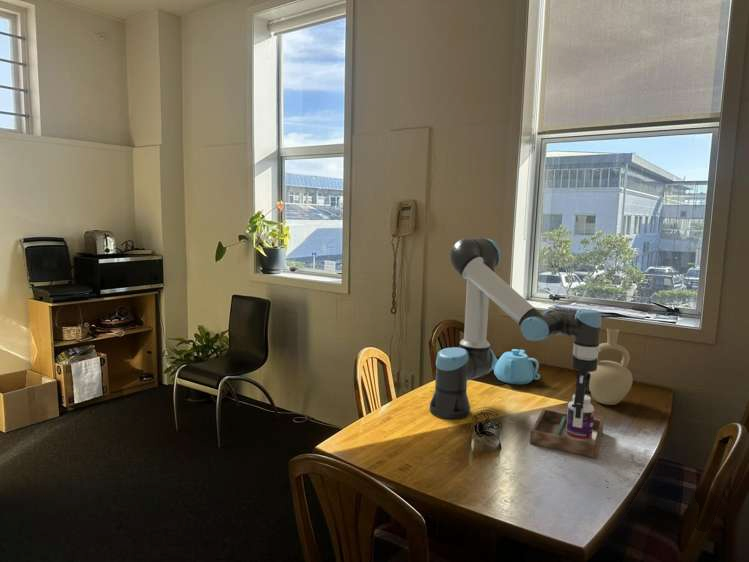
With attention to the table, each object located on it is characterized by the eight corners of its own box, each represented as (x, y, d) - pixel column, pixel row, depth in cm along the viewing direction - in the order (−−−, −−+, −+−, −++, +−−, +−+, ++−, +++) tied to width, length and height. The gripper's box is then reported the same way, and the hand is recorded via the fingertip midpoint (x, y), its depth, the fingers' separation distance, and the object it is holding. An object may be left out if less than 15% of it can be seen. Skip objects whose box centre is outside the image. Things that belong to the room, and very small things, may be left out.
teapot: (523, 372, 241) (525, 343, 239) (544, 385, 222) (546, 355, 220) (485, 373, 237) (487, 345, 235) (503, 387, 219) (505, 356, 217)
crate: (529, 443, 165) (530, 430, 164) (542, 420, 184) (543, 408, 183) (596, 459, 155) (597, 445, 155) (602, 432, 174) (603, 420, 174)
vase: (588, 407, 198) (594, 332, 194) (581, 393, 214) (587, 323, 210) (635, 412, 194) (642, 336, 190) (624, 397, 210) (631, 326, 206)
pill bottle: (593, 445, 163) (597, 402, 161) (567, 442, 165) (571, 400, 163) (588, 434, 171) (592, 393, 169) (563, 432, 172) (566, 391, 171)
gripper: (593, 368, 152) (587, 436, 154) (601, 350, 173) (596, 409, 176) (567, 364, 155) (562, 430, 158) (577, 346, 177) (573, 405, 180)
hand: (579, 419), depth 167 cm, fingers open, 13 cm apart
